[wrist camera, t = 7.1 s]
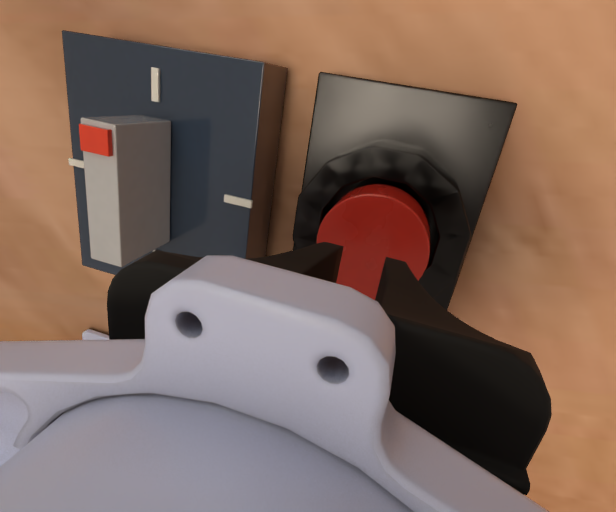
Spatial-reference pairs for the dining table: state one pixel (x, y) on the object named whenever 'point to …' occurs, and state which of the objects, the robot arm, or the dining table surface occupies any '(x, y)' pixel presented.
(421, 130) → the button box
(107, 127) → the tap lever
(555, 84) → the dining table surface
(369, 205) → the red button
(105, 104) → the base
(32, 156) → the dining table surface
